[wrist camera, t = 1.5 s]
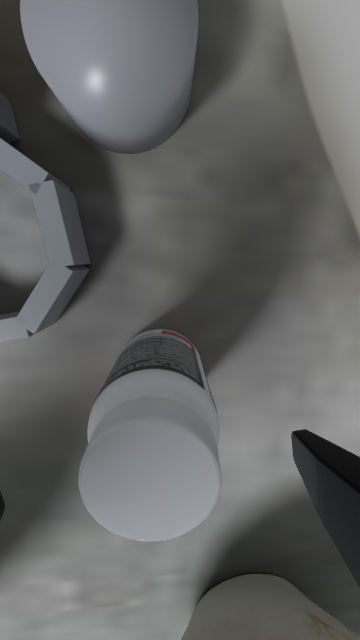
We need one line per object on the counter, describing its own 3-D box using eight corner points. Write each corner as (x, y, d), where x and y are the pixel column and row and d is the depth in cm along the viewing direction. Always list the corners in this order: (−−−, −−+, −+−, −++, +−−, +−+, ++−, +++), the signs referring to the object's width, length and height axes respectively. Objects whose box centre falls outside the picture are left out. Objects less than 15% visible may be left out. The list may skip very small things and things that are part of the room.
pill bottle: (101, 355, 16) (23, 463, 7) (173, 311, 15) (174, 373, 7) (148, 419, 17) (124, 578, 8) (217, 379, 16) (263, 506, 8)
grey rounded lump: (200, 142, 14) (210, 104, 10) (78, 164, 14) (47, 132, 10) (180, -9, 12) (183, -112, 9) (45, 16, 12) (-4, -77, 9)
